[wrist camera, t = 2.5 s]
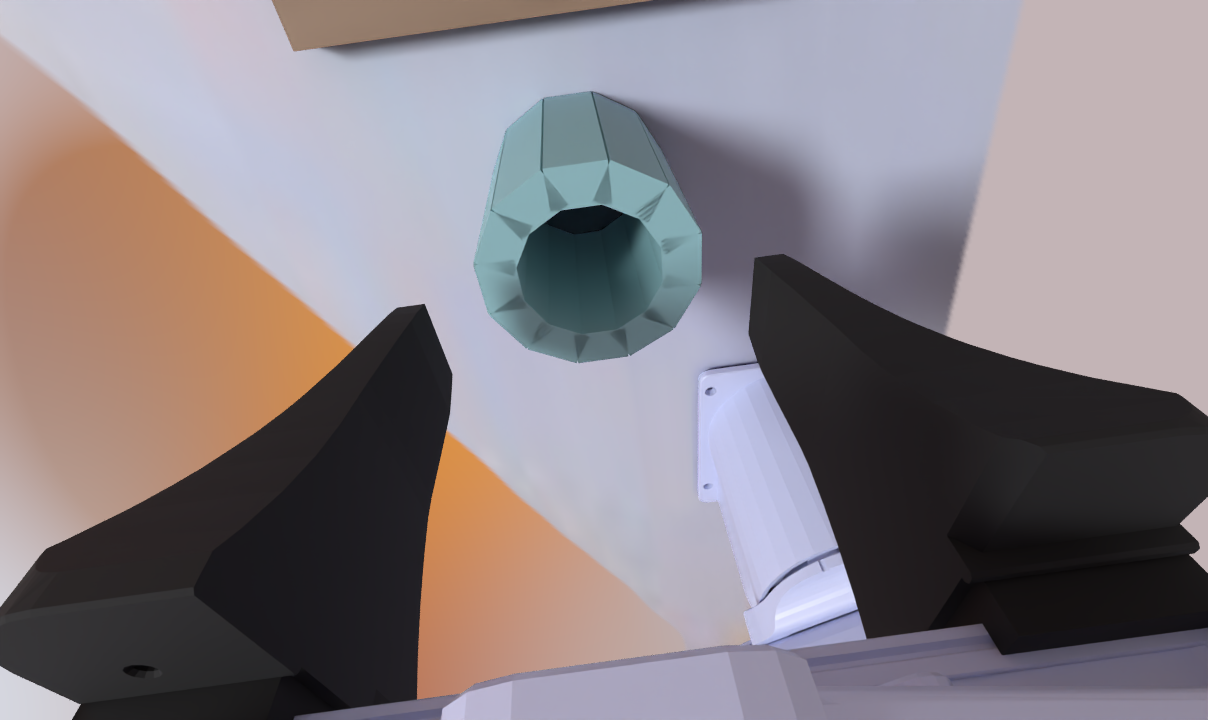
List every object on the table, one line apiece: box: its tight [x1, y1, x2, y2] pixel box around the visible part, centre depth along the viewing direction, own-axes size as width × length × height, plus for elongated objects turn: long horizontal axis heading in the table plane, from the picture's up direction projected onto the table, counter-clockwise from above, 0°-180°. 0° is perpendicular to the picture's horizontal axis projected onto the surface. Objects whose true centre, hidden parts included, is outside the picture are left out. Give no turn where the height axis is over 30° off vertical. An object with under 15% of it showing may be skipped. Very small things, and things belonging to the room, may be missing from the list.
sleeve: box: [474, 91, 702, 363], centre depth 16 cm, size 6×6×6 cm
